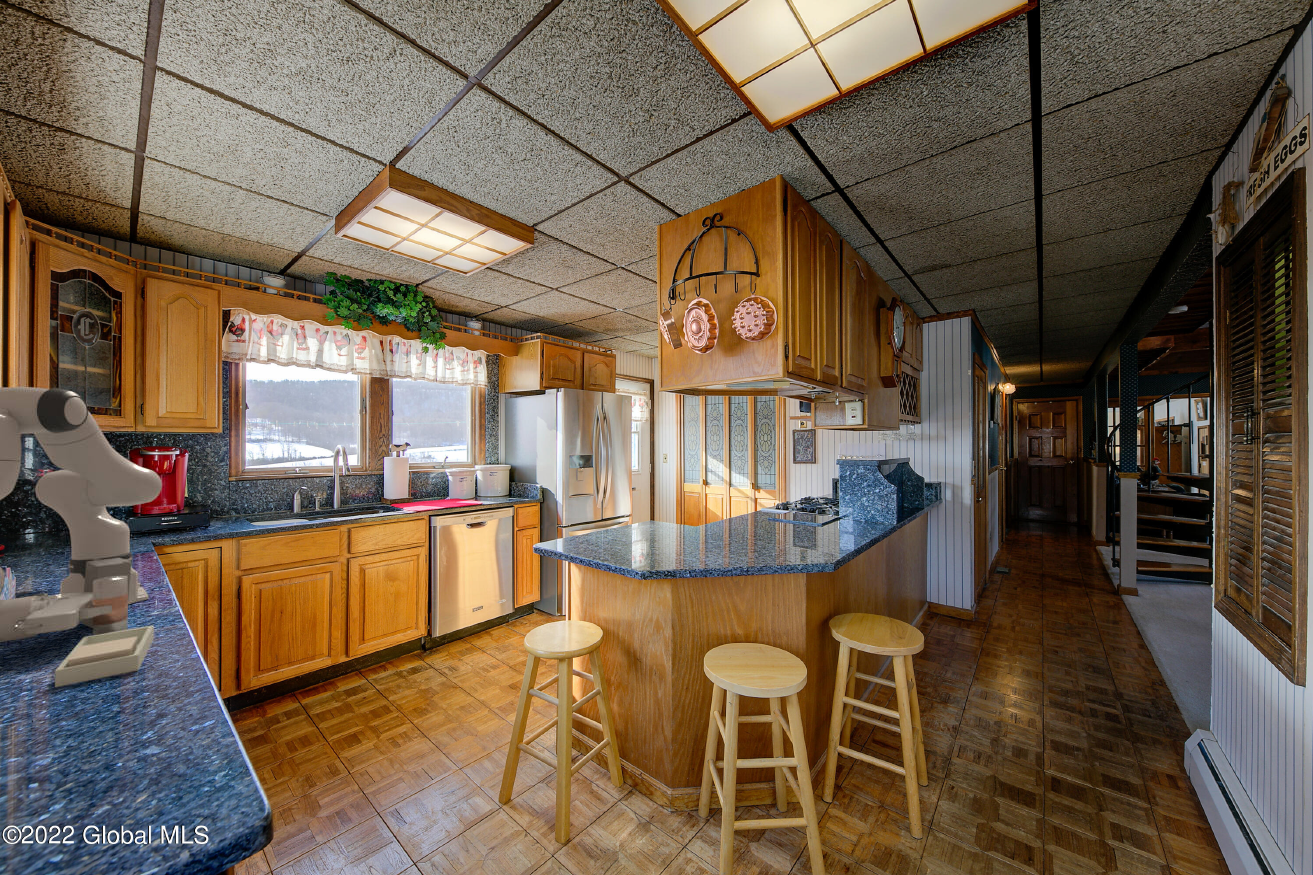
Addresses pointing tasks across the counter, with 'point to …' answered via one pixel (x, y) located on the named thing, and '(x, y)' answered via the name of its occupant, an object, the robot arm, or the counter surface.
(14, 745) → the counter surface
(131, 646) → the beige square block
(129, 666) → the tote
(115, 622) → the steel can
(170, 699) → the counter surface
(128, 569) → the skincare box
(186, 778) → the counter surface
